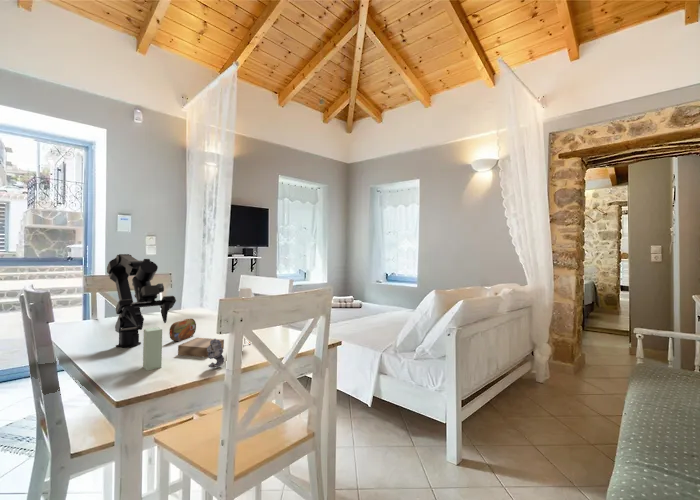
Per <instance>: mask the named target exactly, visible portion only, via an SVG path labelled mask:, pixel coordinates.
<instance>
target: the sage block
mask: <svg viewBox="0 0 700 500" xmlns="http://www.w3.org/2000/svg"><path fill="white" fill-rule="evenodd" d="M142 341H143V344H142V345H143V347H142V349H143V350H142V356H143V357H142V368H143V369H144V370H145V371H146V372H147V371H152V370H156V369H162V359H163V357H162V354H163V329H162V328H161V327H158V326H156V327H149V328H143V340H142Z"/></svg>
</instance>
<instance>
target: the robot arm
mask: <svg viewBox="0 0 700 500" xmlns="http://www.w3.org/2000/svg"><path fill="white" fill-rule="evenodd" d="M158 268H159V267H158V265H157V263H155V261H151V259H150V258H143V260H138V259H136V258H135V257H133V256H132V255H131V254H130V253H129V254H128V253H126V254H125V253H124V254H122V253H120V254H117V255H116V256H115V258H112V259H111V260H110V261H109V262H108V264H107V267H106V273H107V274H108V276H109V279H110V280H111V281H112V282H114V283H115V287H116V291H117V294H118V295H117V296H118V302H117V304H116V306H115V314H116V315H118V317H117V320H116V323H115V325H114V329H115V332H116V333H118V344H116V345H115V347H117V348H132V347H135V346H137V345H141V344H142V342H141V341H140V333H139V331H141V330H143V329H144V328H143V326H144V320H145V318H144V316H143V314H142V312H141V308H148V307H150V308H151V307H158V306H159V307H160V314H161V318H162V321H163V323H164V324H166V323H167V320H168V314H169V313H168V312H169V310H170V309H173V307H174V306H175V304H176V302H177V300H176V297H175V295H165V296H163V297H162V298H161V299H160V300H159V299H157V298H158V295H160V293H164V291H165V287H164V284H163V283H157V284H153V285H152V284H151V283H152V282H151V281H152V280H153V279H154V276H155V275H156V273H157V271H158ZM130 276H131V277H132V276H133V277H132V280H131V281H132V286H133V290H134V298H135V299H136V301H135V302H134V300H133V295H132V290H131V287H130V283H129V277H130ZM156 299H157V300H156Z"/></svg>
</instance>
